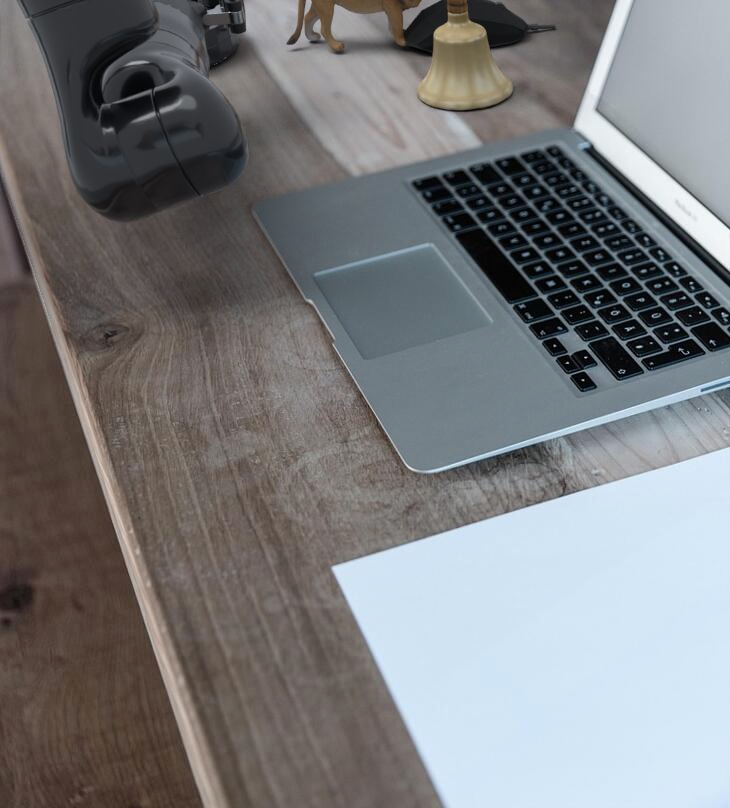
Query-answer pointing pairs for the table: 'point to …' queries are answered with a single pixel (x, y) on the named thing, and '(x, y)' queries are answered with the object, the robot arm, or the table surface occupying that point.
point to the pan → (220, 43)
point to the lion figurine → (323, 3)
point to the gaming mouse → (482, 11)
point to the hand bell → (462, 66)
